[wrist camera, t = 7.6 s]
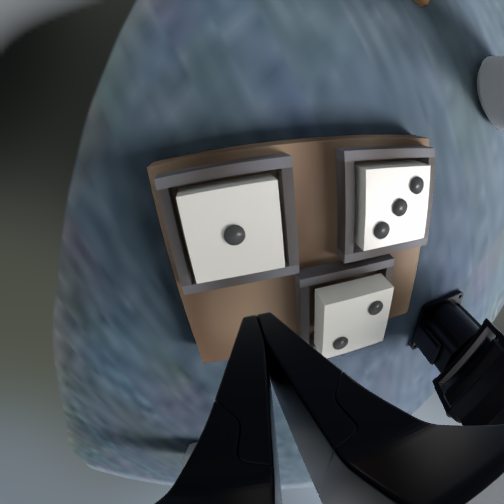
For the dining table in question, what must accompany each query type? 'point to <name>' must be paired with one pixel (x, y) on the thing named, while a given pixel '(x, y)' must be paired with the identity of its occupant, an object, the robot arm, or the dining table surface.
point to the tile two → (351, 314)
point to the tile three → (390, 202)
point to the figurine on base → (422, 2)
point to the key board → (289, 231)
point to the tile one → (232, 226)
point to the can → (492, 89)
